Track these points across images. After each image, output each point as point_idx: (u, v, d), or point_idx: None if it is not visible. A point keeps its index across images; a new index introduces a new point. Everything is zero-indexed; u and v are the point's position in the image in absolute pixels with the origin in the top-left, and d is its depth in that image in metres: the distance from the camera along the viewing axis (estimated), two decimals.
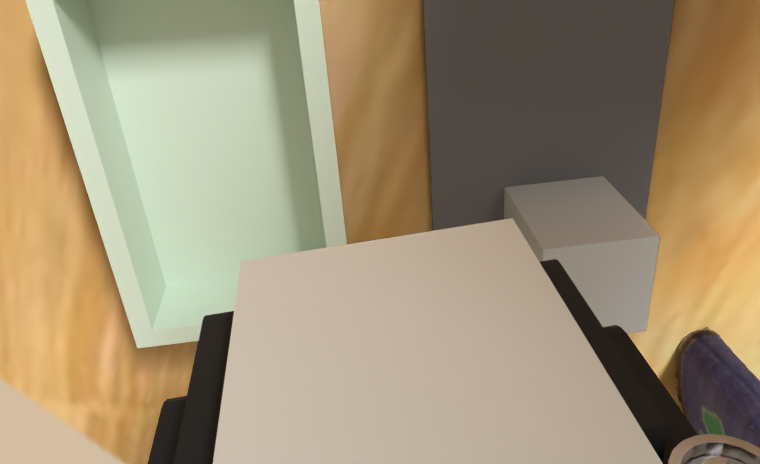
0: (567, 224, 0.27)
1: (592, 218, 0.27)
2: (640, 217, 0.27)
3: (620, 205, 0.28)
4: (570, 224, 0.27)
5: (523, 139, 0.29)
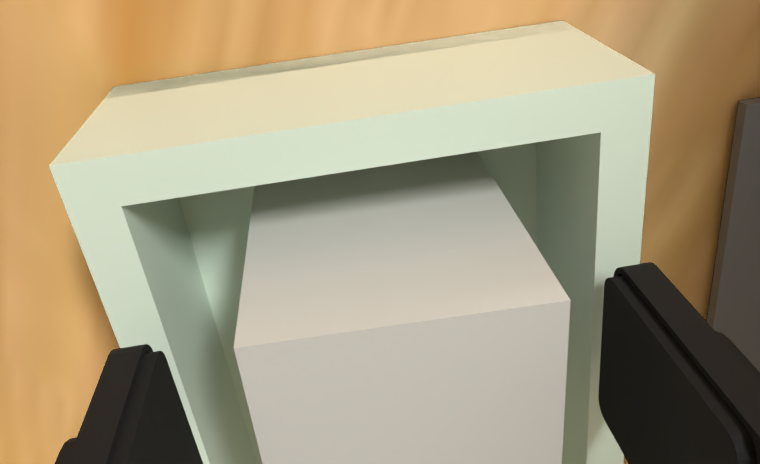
0: None
1: None
2: None
3: None
4: None
5: None
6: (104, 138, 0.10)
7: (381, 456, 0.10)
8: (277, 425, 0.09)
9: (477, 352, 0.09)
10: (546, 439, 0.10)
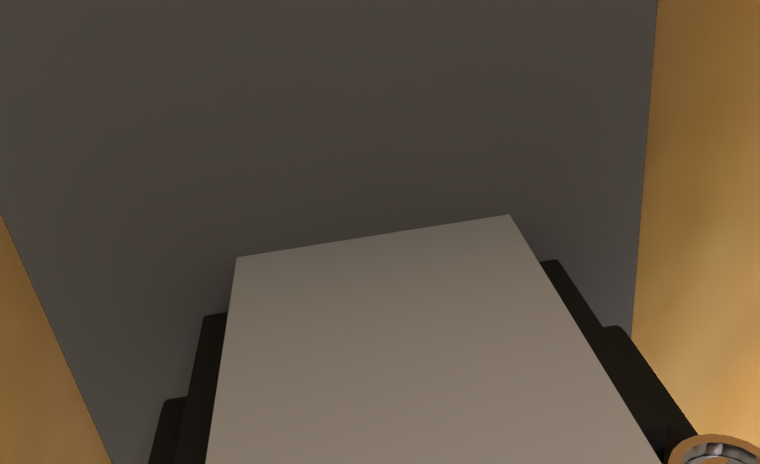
0: (343, 408, 0.08)
1: (435, 382, 0.08)
2: (599, 376, 0.08)
3: (541, 320, 0.09)
4: (353, 411, 0.08)
5: (257, 122, 0.10)
6: None
7: None
8: None
9: None
10: None
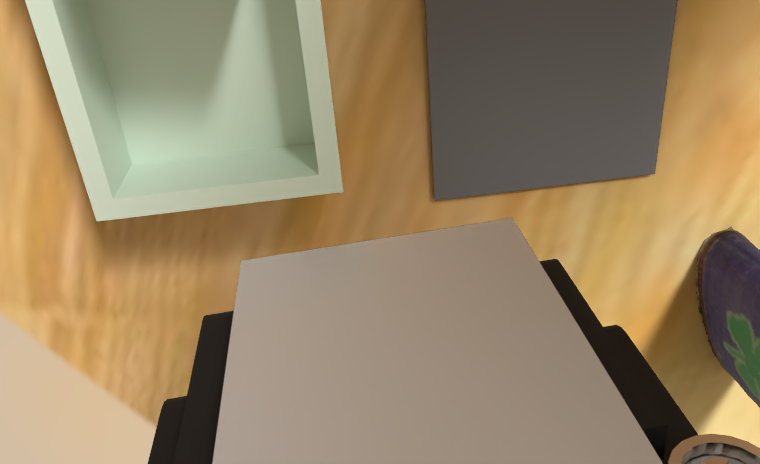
0: (349, 412, 0.08)
1: (440, 386, 0.08)
2: (602, 379, 0.08)
3: (545, 324, 0.09)
4: (358, 414, 0.08)
5: None
6: None
7: None
8: None
9: None
10: None
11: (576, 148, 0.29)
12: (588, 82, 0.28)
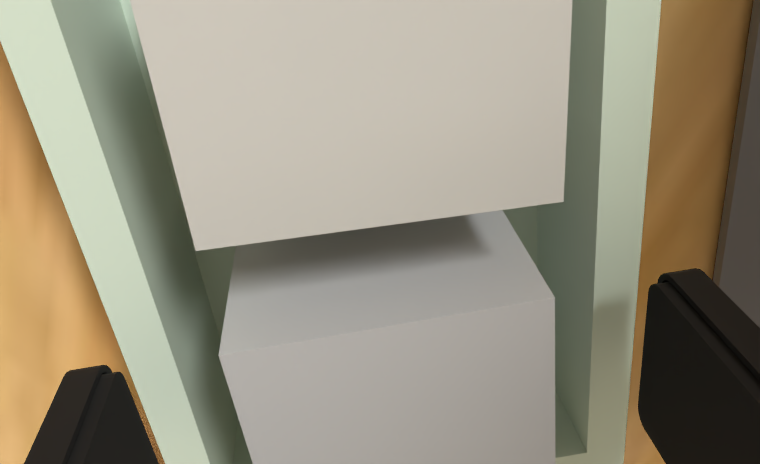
0: (327, 269, 0.10)
1: (395, 251, 0.11)
2: (515, 243, 0.10)
3: None
4: (334, 270, 0.10)
5: None
6: None
7: (314, 54, 0.07)
8: None
9: None
10: (547, 42, 0.07)
11: None
12: None
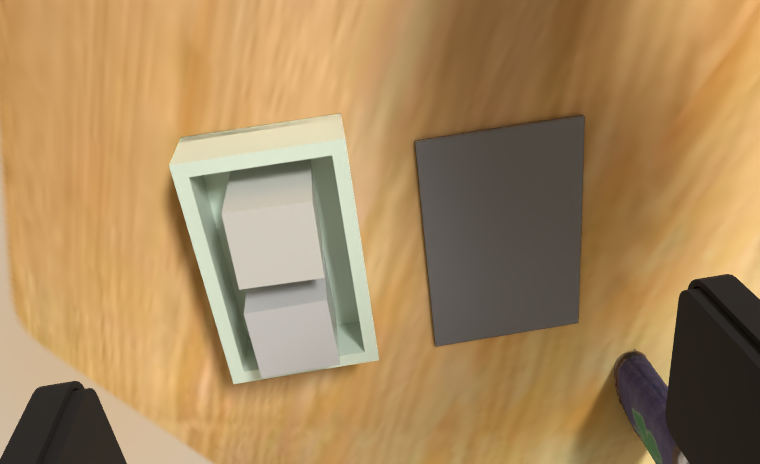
0: (272, 292, 0.38)
1: (291, 287, 0.38)
2: (324, 285, 0.37)
3: None
4: (274, 292, 0.37)
5: (488, 230, 0.42)
6: (183, 157, 0.35)
7: (264, 250, 0.34)
8: (233, 238, 0.34)
9: (288, 216, 0.34)
10: (314, 246, 0.34)
11: (525, 311, 0.46)
12: (529, 275, 0.44)
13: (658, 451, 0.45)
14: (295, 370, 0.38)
